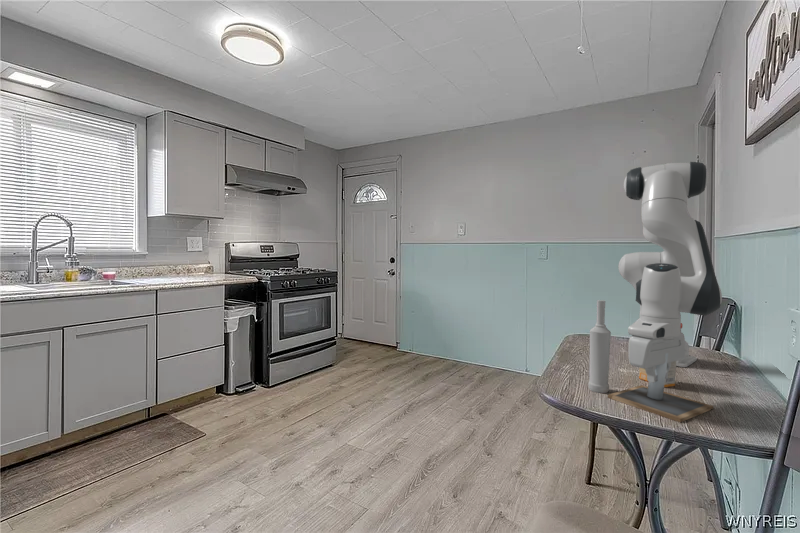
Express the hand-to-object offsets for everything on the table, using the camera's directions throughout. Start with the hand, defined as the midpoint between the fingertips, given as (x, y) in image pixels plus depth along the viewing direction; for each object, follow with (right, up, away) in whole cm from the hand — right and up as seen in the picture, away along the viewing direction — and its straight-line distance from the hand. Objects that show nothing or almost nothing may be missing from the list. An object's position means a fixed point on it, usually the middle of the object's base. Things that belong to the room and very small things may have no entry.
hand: (657, 380), depth 100 cm
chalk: (0, -5, 0) cm, 5 cm away
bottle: (-11, -5, +8) cm, 15 cm away
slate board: (0, -6, -1) cm, 6 cm away
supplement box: (+10, -5, +15) cm, 19 cm away
